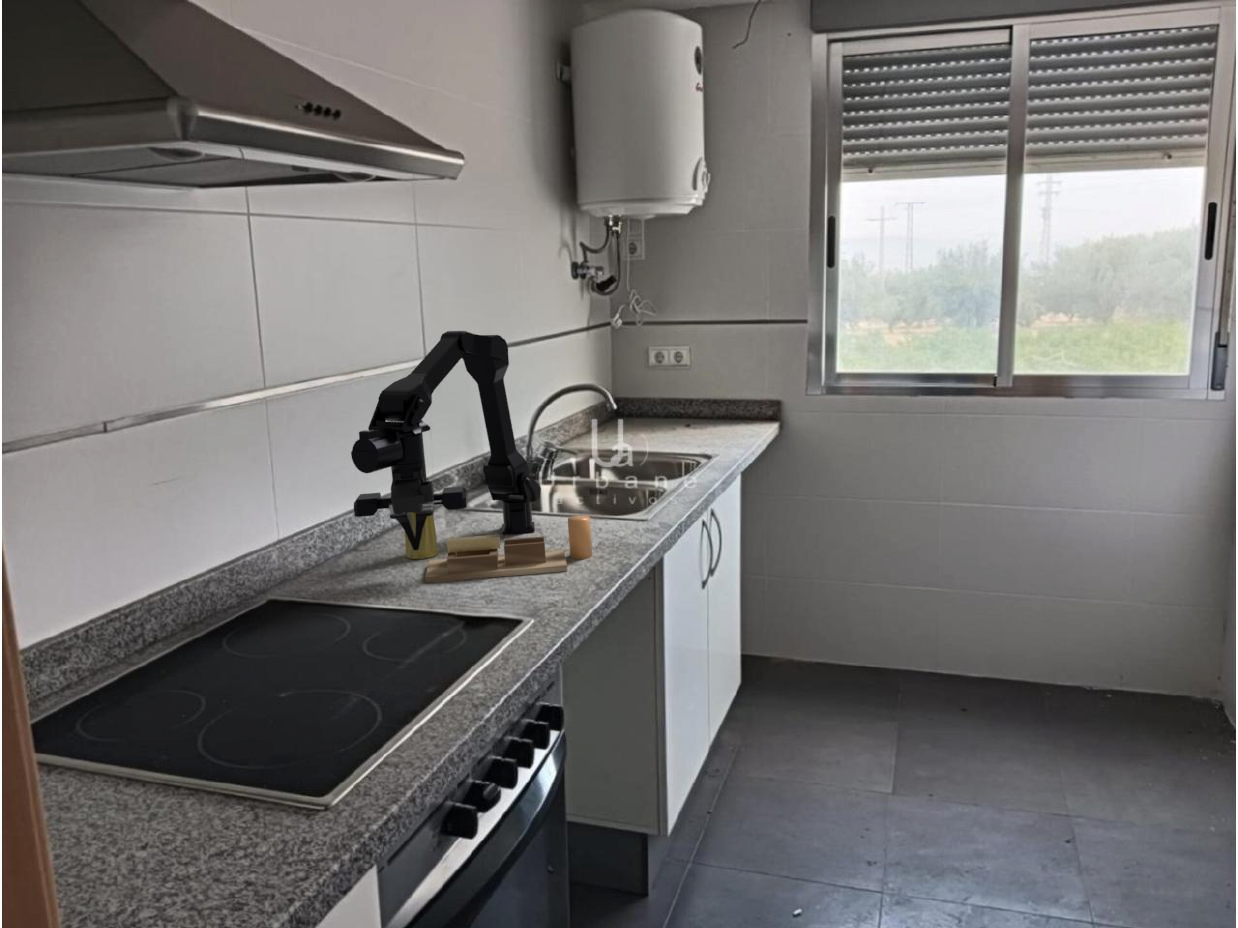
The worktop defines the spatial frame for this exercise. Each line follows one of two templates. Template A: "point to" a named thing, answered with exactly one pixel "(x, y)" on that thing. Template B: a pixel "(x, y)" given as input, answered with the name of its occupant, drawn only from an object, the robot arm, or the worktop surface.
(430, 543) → the vase
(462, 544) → the bar
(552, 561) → the dock board
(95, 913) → the worktop surface
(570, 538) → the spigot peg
